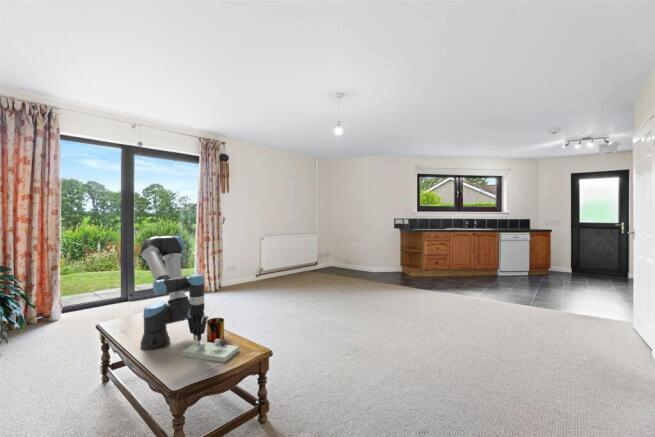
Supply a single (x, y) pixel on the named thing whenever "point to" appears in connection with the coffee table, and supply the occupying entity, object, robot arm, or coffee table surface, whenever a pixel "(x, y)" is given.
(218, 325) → the mug
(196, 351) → the board
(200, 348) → the steel ball
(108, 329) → the coffee table surface
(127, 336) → the coffee table surface
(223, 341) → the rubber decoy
